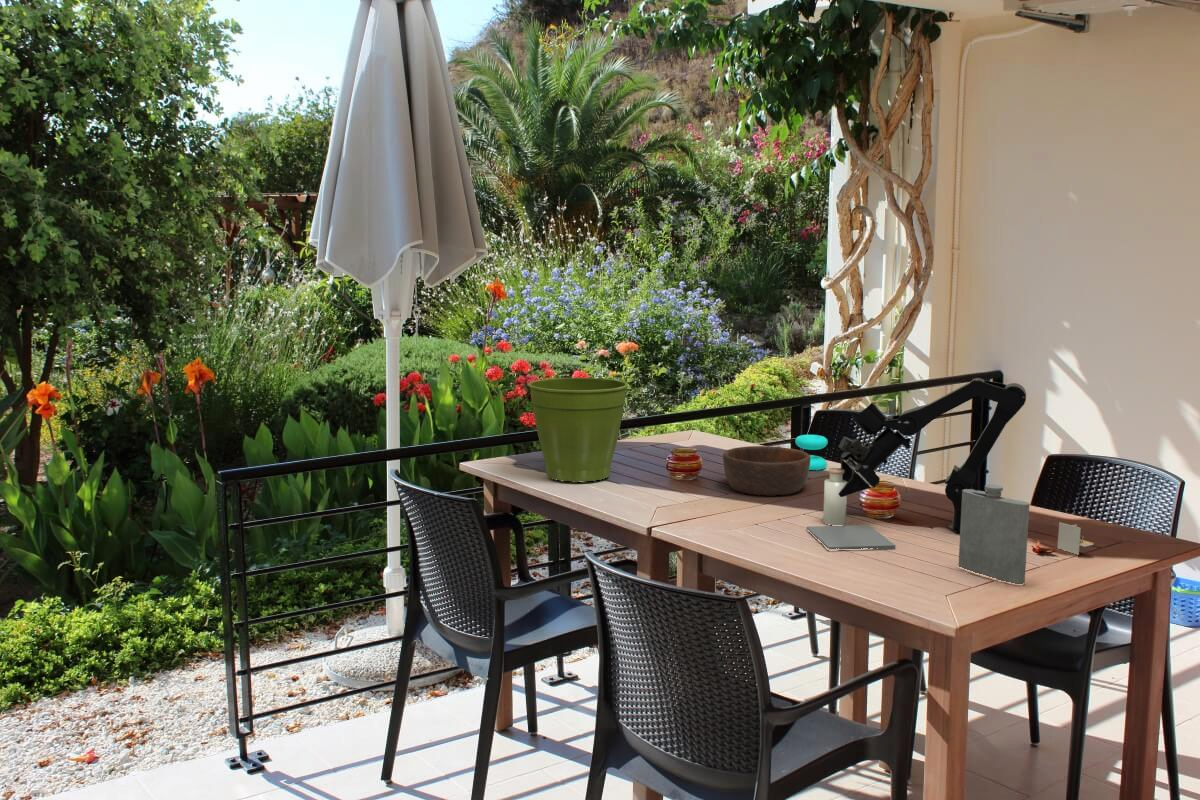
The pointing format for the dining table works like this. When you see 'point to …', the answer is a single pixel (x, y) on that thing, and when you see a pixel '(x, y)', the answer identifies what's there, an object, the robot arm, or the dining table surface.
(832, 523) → the corked frosted bottle
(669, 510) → the dining table surface
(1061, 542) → the pale grey angular piece
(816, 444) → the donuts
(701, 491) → the dining table surface
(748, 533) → the dining table surface
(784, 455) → the wooden bowl
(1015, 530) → the hip flask
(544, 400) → the plant pot
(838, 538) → the charcoal tile board
